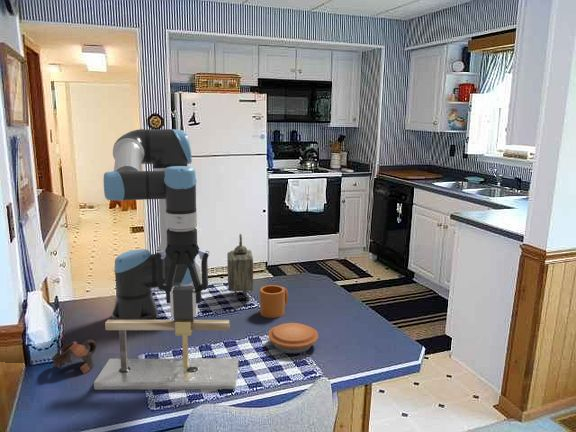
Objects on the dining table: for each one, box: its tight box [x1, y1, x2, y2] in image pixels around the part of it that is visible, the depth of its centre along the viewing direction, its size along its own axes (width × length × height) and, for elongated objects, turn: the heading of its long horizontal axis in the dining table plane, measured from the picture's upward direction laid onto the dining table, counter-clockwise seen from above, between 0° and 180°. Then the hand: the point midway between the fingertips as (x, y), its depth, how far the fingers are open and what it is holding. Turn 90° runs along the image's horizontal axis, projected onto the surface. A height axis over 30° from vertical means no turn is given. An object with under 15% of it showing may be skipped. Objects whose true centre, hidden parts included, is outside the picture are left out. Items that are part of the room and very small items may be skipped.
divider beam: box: [104, 319, 231, 371], centre depth 123 cm, size 2×32×14 cm, turn 92°
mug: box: [259, 284, 289, 319], centre depth 168 cm, size 9×12×9 cm
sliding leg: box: [172, 285, 196, 369], centre depth 123 cm, size 5×5×23 cm
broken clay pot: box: [51, 339, 97, 375], centre depth 130 cm, size 12×10×8 cm
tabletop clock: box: [226, 233, 254, 302], centre depth 180 cm, size 14×9×25 cm, turn 9°
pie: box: [267, 322, 319, 355], centre depth 144 cm, size 15×16×5 cm
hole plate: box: [93, 357, 240, 391], centre depth 125 cm, size 12×36×2 cm, turn 92°
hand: (184, 314), depth 122 cm, fingers closed on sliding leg, 5 cm apart
